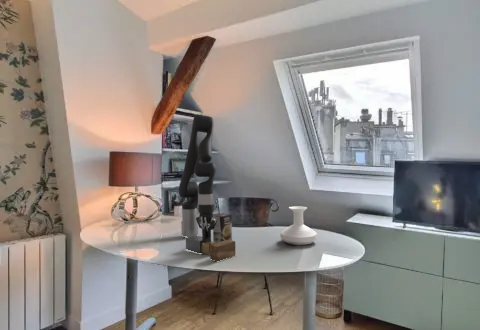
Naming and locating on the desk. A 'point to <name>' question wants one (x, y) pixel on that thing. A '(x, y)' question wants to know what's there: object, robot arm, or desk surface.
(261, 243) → the desk surface
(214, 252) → the socket
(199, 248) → the grey rectangular box
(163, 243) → the desk surface
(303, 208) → the white vase
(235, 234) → the desk surface
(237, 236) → the desk surface
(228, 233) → the coffee box
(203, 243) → the tan and grey block
